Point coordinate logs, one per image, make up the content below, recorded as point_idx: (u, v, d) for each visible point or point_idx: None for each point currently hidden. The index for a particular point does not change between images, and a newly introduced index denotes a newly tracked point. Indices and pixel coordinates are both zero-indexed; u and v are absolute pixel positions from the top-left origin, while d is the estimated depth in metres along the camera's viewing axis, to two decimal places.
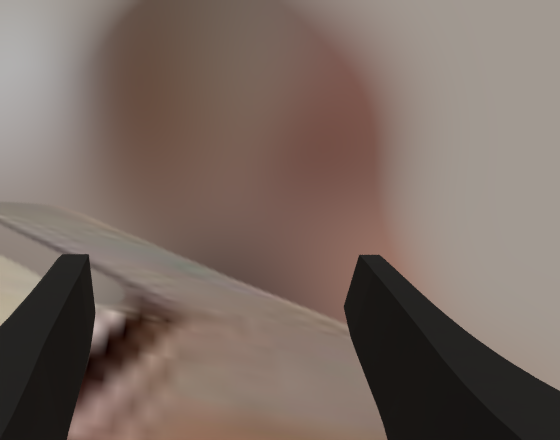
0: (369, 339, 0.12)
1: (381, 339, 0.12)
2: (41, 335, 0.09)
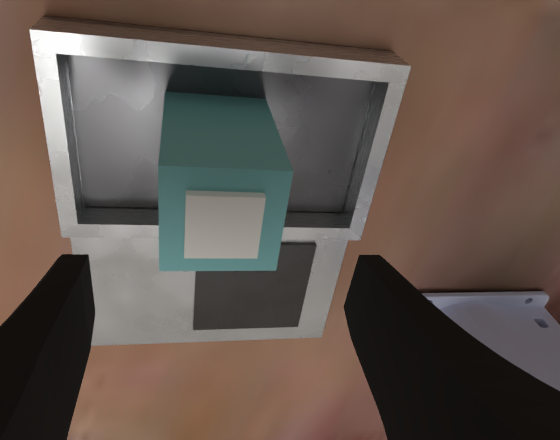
0: (369, 339, 0.12)
1: (381, 339, 0.12)
2: (41, 335, 0.09)
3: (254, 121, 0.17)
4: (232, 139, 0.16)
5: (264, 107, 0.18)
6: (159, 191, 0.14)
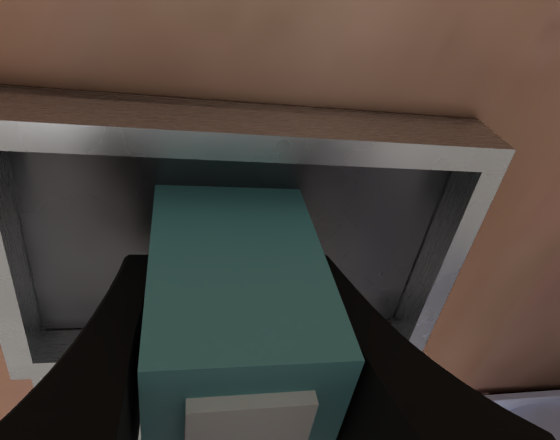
0: None
1: None
2: (128, 332, 0.09)
3: (288, 239, 0.11)
4: (259, 285, 0.10)
5: (299, 208, 0.13)
6: (141, 403, 0.08)
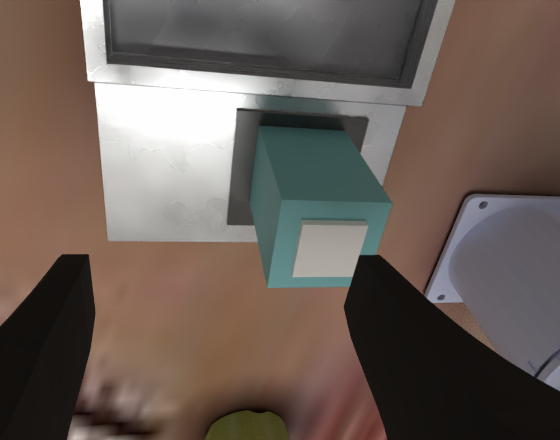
0: (369, 339, 0.12)
1: (381, 339, 0.12)
2: (41, 335, 0.09)
3: (343, 154, 0.19)
4: (332, 172, 0.18)
5: (346, 139, 0.20)
6: (279, 221, 0.16)
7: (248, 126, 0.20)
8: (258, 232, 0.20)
